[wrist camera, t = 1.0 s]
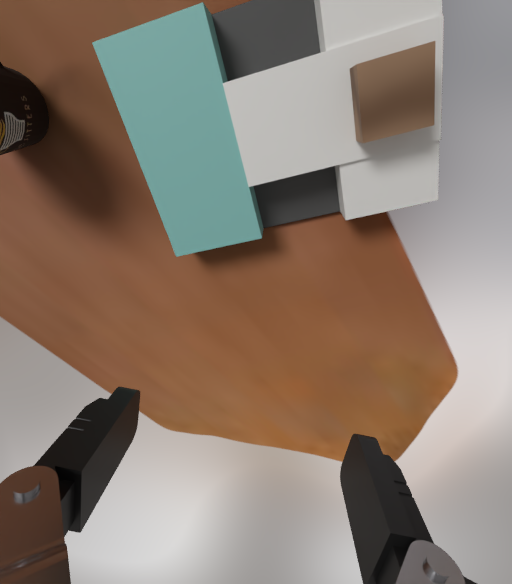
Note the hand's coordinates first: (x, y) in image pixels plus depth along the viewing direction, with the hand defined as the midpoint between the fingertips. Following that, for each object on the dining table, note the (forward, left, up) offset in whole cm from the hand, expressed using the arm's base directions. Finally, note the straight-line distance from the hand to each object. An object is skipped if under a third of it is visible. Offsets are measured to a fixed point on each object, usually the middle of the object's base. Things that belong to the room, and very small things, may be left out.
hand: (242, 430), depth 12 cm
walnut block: (-9, +12, -21) cm, 26 cm away
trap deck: (-9, +3, -25) cm, 27 cm away
